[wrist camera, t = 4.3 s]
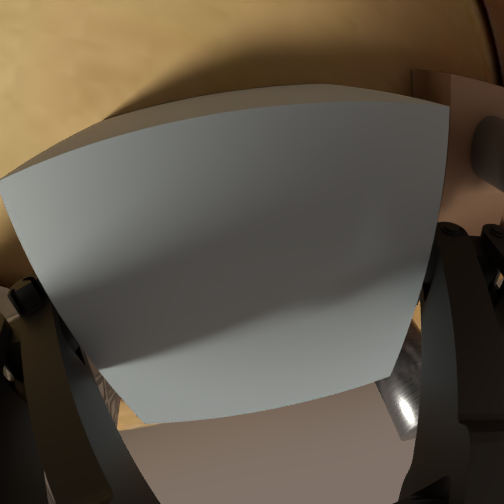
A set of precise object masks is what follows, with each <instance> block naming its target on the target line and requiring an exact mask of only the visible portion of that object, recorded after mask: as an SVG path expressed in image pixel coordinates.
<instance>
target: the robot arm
mask: <svg viewBox="0 0 504 504" xmlns="http://www.w3.org/2000/svg"><path fill="white" fill-rule="evenodd" d="M500 273H502V275H503V277H504V228H502V227H501V226H500V225H497V224H485V225H484V226H483V227H482V231H481V235H480V236H469V235H468V233H467V232H466V230H465V229H464V228H462V227H461V226H459V225H457V224H455V223H451V222H437V225H436V230H435V235H434V240H433V244H432V249H431V253H430V257H429V261H428V265H427V269H426V273H425V277H424V280H423V284H422V287H421V291H420V294H419V298H418V301H417V304H416V305H418V302H419V301H420V306H421V335H422V360H421V387H420V403H419V414H418V424H417V433H416V440H415V448H414V455H413V460H412V464H411V467H410V469H409V471H408V473H407V475H406V477H405V479H404V482H403V484H402V488H401V492H400V496H399V500H398V502H396V503H394V504H504V280H503V282H502V285H501V287H500V288H499V287H498V286H497V284H496V283H497V280H498V278H499V275H500ZM7 296H8V298H9V300H10V301H11V303H12V305H13V306H14V308H15V309H16V311H17V312H18V314H19V315H20V318H19V319H16V320H14V321H12V322H10V323H8V321H7V320H6V318H5V317H4V315H3V314H0V504H49V503H48V497H47V490H46V483H45V475H46V478H47V481H48V484H49V487H50V490H51V492H52V495H53V498H54V500H55V503H56V504H160V502H159V501H158V500H157V498H156V496H155V495H154V493H153V492H152V490H151V489H150V487H149V485H148V484H147V482H146V481H145V479H144V477H143V476H142V474H141V472H140V471H139V469H138V467H137V465H136V464H135V462H134V460H133V458H132V457H131V455H130V453H129V451H128V449H127V448H126V446H125V444H124V442H123V440H122V438H121V436H120V434H119V432H118V430H117V428H116V426H115V424H114V422H113V420H112V417H111V415H110V413H109V411H108V409H107V407H106V404H105V402H104V400H103V397H102V395H101V393H100V390H99V388H98V385H97V383H96V380H95V378H94V375H93V373H92V370H91V367H90V365H89V362H88V359H87V356H86V354H85V352H84V350H83V349H82V347H81V346H80V345H79V343H78V342H77V340H76V339H75V337H74V336H73V334H72V333H71V331H70V330H69V328H68V327H67V325H66V324H65V322H64V321H63V319H62V318H61V316H60V314H59V313H58V311H57V310H56V308H55V306H54V305H53V303H52V301H51V300H50V298H49V296H48V295H47V293H46V291H45V289H44V288H43V286H42V284H41V282H40V280H39V279H38V277H37V275H35V274H31V275H27V276H25V277H23V278H21V279H20V280H18V281H17V282H16V283H15V284H14V285H13V286H12V287H11V288H10V290H9V291H8V294H7ZM4 368H5V369H6V370H7V371H8V372H9V373H10V374H11V379H10V381H9V380H8V379H7V378H6V377H5V376H4V370H3V369H4ZM44 472H45V475H44Z"/></svg>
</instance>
